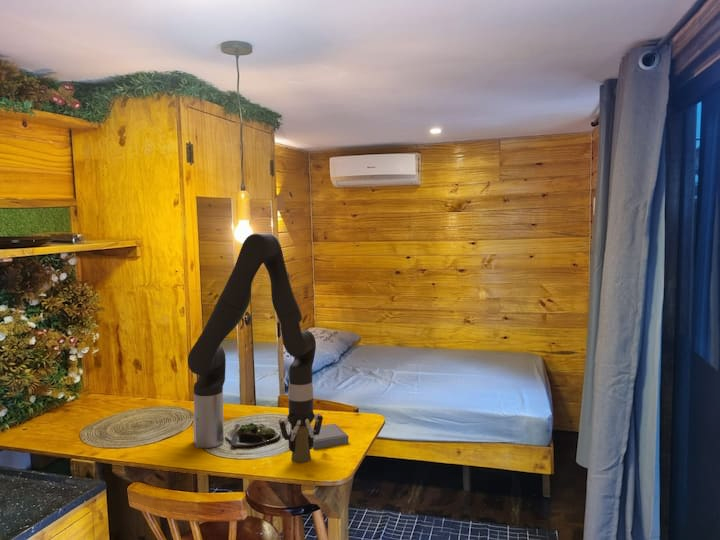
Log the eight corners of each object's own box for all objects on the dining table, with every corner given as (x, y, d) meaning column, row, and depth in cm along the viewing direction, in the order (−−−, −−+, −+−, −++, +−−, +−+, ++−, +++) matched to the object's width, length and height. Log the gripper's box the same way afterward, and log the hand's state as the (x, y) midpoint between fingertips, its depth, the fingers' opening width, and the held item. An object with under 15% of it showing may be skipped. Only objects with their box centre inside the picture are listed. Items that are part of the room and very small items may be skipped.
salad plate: (214, 434, 189) (213, 421, 188) (261, 423, 199) (261, 411, 198) (236, 453, 173) (235, 439, 172) (286, 441, 183) (286, 427, 183)
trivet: (314, 449, 175) (314, 441, 175) (302, 436, 186) (302, 428, 186) (348, 443, 180) (348, 435, 180) (335, 430, 191) (335, 423, 191)
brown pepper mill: (298, 464, 164) (298, 429, 163) (287, 458, 169) (287, 423, 168) (314, 459, 168) (314, 424, 167) (303, 453, 173) (303, 419, 172)
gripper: (281, 403, 160) (282, 458, 162) (327, 396, 166) (327, 450, 168) (274, 395, 167) (275, 449, 169) (318, 389, 173) (318, 441, 175)
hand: (301, 449), depth 168 cm, fingers open, 5 cm apart
